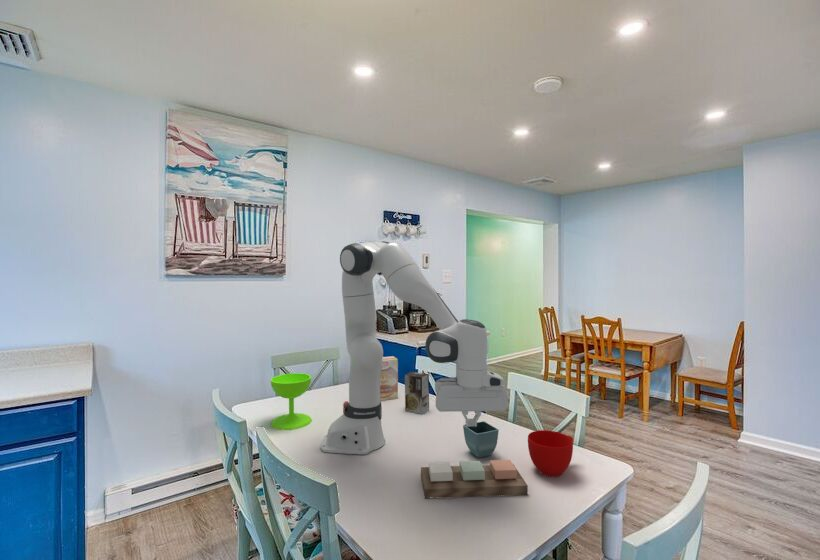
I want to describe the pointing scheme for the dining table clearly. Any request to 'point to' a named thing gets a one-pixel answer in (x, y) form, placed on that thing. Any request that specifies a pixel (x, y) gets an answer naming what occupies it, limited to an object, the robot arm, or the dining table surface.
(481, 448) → the flower pot
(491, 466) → the pink square block
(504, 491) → the button board
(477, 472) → the sage tile
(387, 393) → the coffeecake box
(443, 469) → the white square block
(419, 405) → the coffee box
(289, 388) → the wineglass
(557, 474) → the ceramic cup
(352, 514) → the dining table surface
